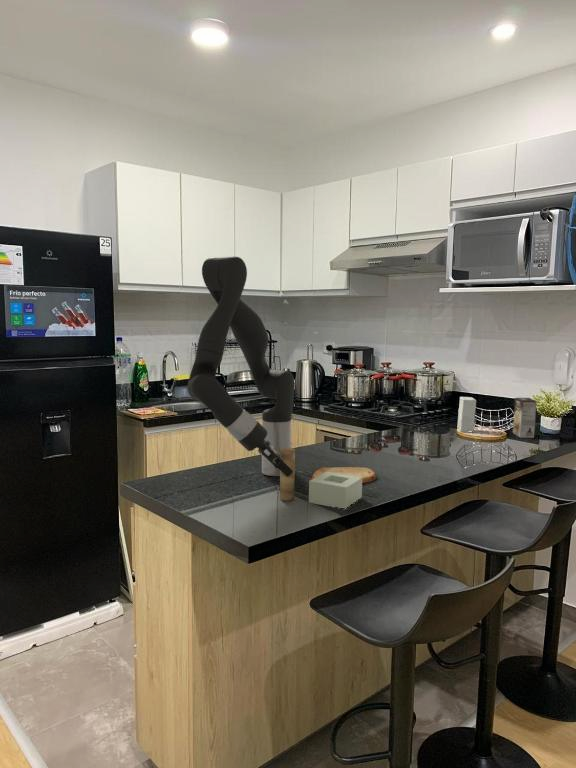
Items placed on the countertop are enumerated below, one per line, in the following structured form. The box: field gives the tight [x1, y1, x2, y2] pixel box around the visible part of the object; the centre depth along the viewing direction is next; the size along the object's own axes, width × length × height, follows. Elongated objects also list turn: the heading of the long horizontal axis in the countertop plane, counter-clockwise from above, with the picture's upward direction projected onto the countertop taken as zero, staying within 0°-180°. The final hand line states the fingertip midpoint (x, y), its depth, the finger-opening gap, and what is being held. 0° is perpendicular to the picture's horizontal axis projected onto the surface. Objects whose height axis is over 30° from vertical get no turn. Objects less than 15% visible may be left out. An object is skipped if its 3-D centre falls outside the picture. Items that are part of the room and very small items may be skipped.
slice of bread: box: [310, 466, 377, 484], centre depth 180 cm, size 18×18×4 cm
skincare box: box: [456, 396, 477, 433], centre depth 258 cm, size 8×6×15 cm
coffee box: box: [512, 397, 537, 439], centre depth 249 cm, size 9×6×16 cm
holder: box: [308, 472, 363, 510], centre depth 159 cm, size 11×11×6 cm
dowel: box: [279, 447, 296, 502], centre depth 159 cm, size 4×4×14 cm
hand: (287, 469), depth 159 cm, fingers open, 8 cm apart
